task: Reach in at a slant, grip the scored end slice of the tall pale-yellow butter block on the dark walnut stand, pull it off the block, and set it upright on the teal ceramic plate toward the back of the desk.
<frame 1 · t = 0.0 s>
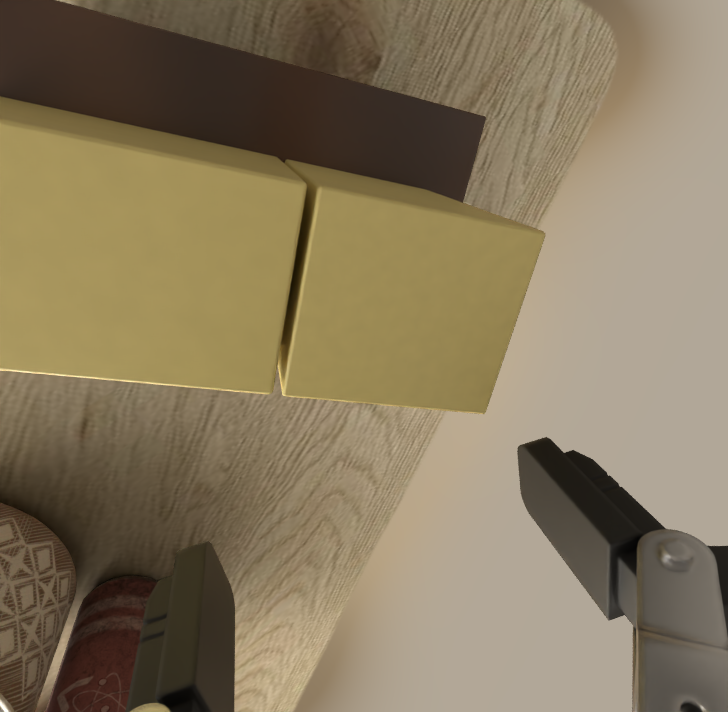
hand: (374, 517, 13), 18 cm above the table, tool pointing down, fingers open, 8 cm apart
butter slice: (345, 240, 18), point 10 cm above the table, touching butter stand
can: (129, 604, 35), on the table
butter stand: (231, 187, 26), on the table
butter block: (141, 203, 16), point 10 cm above the table, touching butter stand
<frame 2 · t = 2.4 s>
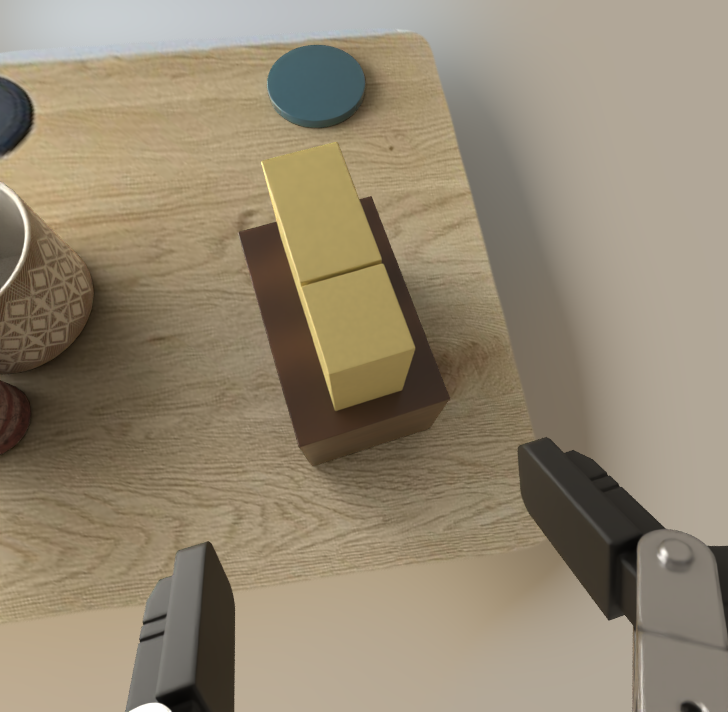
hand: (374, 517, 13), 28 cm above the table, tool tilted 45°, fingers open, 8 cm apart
butter slice: (357, 365, 34), point 10 cm above the table, touching butter stand
planter: (28, 310, 46), on the table
plate: (316, 89, 54), on the table
butter stand: (342, 358, 44), on the table
butter block: (327, 276, 36), point 10 cm above the table, touching butter stand
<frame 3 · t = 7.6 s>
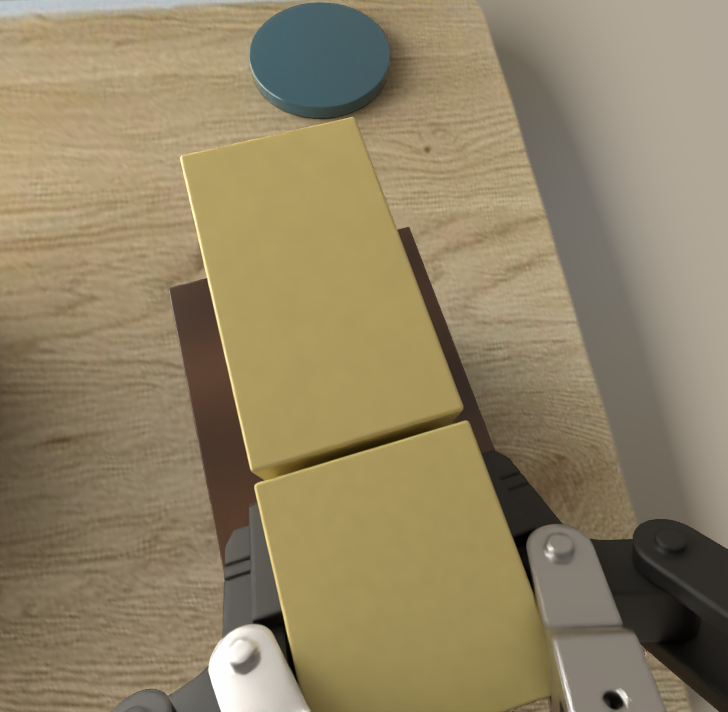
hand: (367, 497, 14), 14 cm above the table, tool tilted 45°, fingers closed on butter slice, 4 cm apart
butter slice: (382, 563, 17), point 10 cm above the table, touching butter stand, gripper
plate: (320, 64, 38), on the table
butter stand: (350, 478, 28), on the table
butter block: (328, 376, 19), point 10 cm above the table, touching butter stand
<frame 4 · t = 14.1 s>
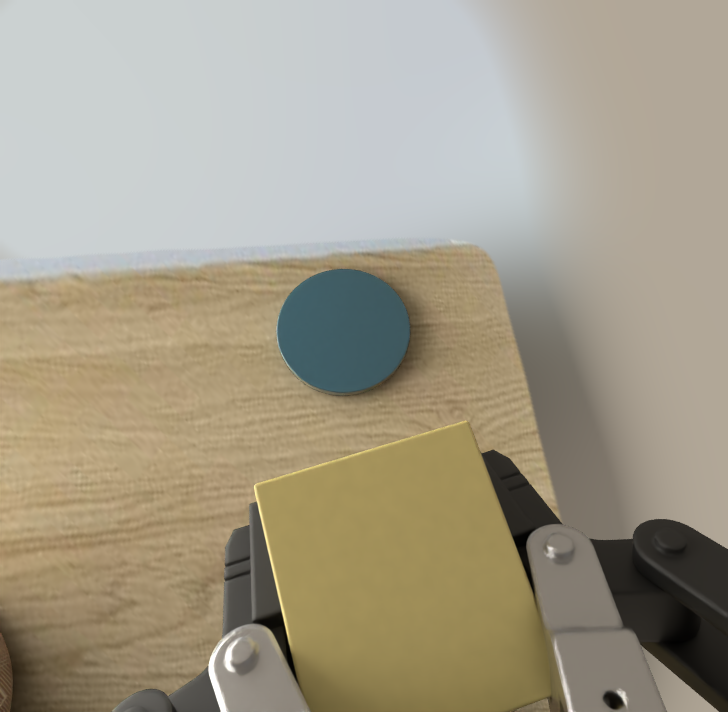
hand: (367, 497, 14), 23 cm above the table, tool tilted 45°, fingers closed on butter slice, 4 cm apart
butter slice: (382, 563, 17), point 18 cm above the table, touching gripper
plate: (343, 332, 40), on the table
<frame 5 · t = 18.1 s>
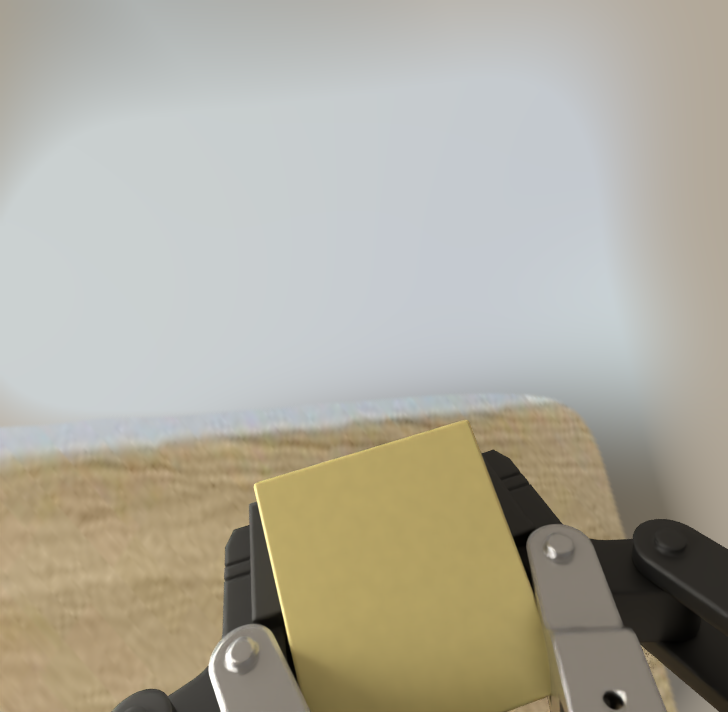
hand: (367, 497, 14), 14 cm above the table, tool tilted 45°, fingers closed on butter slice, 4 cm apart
butter slice: (382, 563, 17), point 10 cm above the table, touching gripper
when the fingers open (5 cm above the table, at t = 20.9 s): butter slice stays where it is, resting on plate.
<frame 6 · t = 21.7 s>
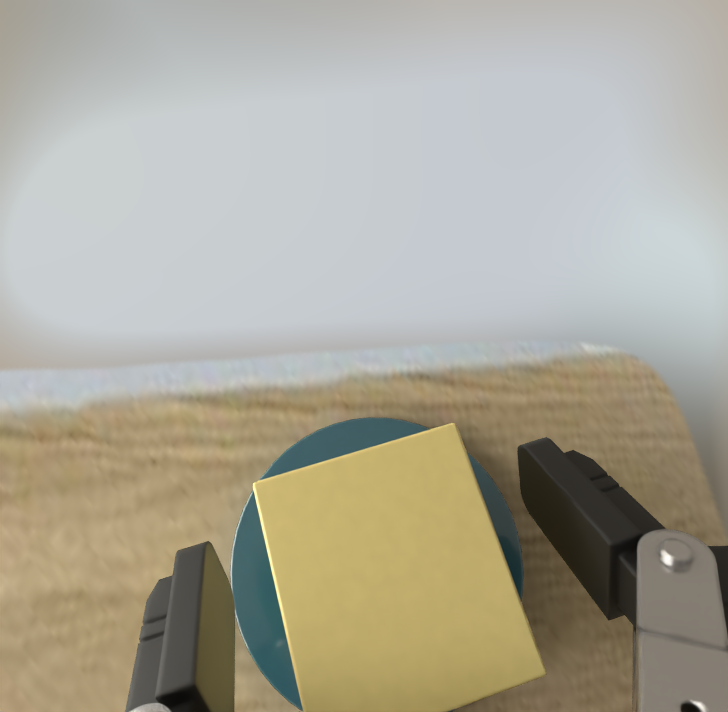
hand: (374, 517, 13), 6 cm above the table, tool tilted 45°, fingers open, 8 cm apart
butter slice: (376, 560, 18), point 1 cm above the table, touching plate
plate: (376, 559, 19), on the table
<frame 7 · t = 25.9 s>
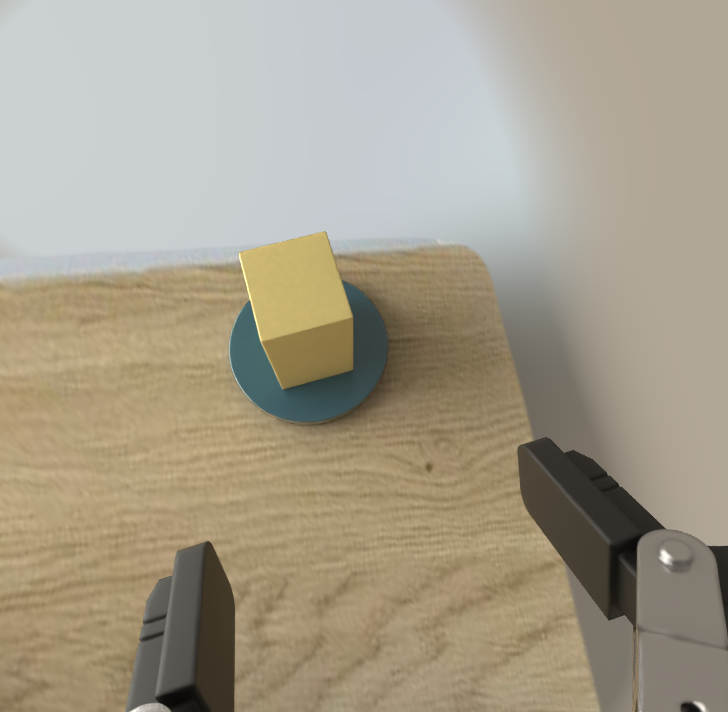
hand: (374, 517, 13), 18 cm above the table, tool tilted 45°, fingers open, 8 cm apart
butter slice: (308, 343, 33), point 1 cm above the table, touching plate
plate: (309, 349, 34), on the table
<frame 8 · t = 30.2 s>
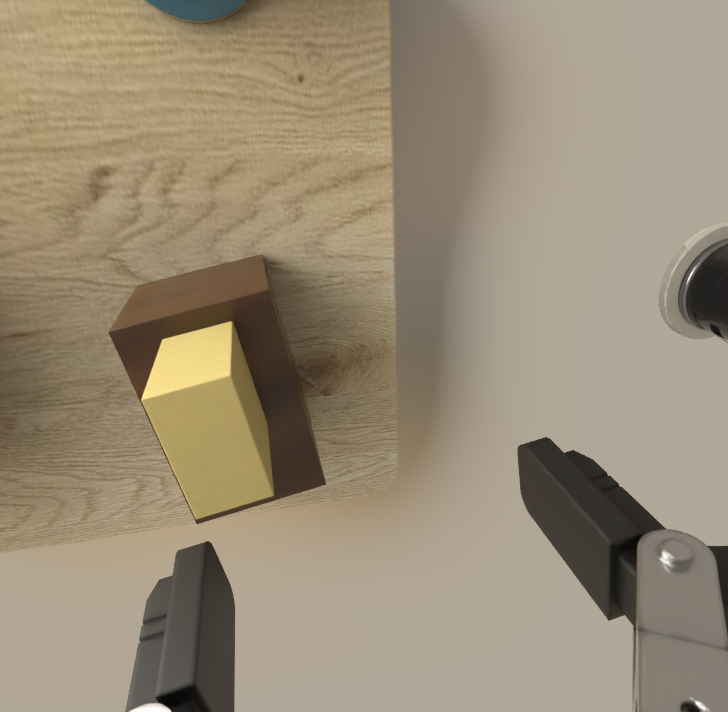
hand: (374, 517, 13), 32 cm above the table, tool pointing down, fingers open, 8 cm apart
butter stand: (231, 358, 45), on the table
butter block: (217, 383, 35), point 10 cm above the table, touching butter stand
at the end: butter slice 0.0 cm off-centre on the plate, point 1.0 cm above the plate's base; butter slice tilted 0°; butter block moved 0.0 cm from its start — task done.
